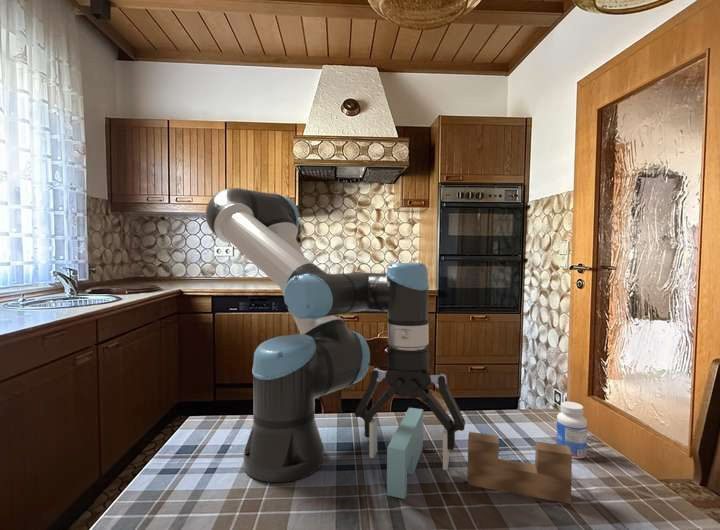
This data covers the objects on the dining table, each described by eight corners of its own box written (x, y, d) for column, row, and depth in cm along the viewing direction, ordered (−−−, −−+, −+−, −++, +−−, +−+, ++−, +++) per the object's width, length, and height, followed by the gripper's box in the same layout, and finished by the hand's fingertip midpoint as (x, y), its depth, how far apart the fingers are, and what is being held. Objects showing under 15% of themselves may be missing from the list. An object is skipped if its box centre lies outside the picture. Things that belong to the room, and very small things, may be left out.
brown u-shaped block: (467, 484, 67) (468, 438, 67) (468, 475, 70) (469, 431, 69) (571, 504, 62) (571, 454, 61) (567, 493, 64) (568, 445, 64)
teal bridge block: (386, 495, 64) (387, 447, 64) (408, 445, 81) (408, 407, 81) (404, 499, 63) (405, 450, 63) (422, 447, 80) (423, 409, 80)
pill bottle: (555, 443, 82) (556, 398, 82) (584, 449, 80) (585, 402, 79) (557, 455, 77) (558, 407, 77) (588, 461, 75) (589, 411, 74)
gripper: (338, 345, 72) (338, 459, 72) (477, 355, 64) (478, 483, 64) (351, 338, 79) (352, 441, 79) (479, 346, 71) (479, 460, 71)
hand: (408, 460), depth 71 cm, fingers open, 13 cm apart
